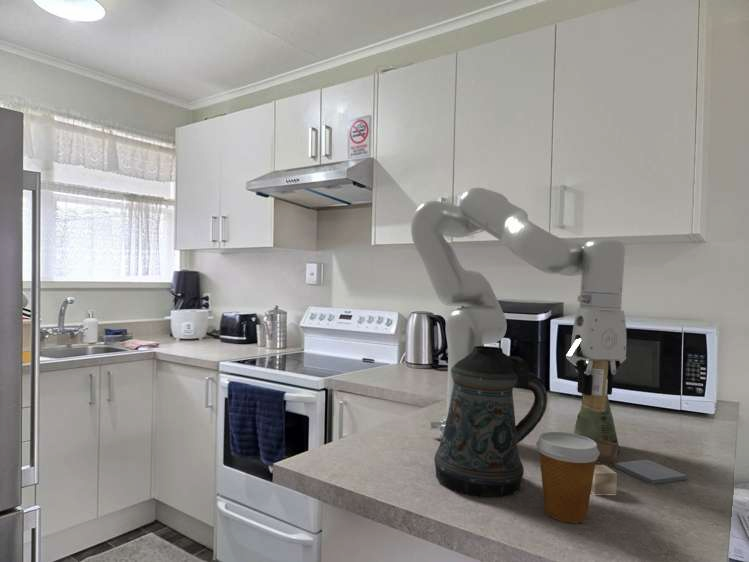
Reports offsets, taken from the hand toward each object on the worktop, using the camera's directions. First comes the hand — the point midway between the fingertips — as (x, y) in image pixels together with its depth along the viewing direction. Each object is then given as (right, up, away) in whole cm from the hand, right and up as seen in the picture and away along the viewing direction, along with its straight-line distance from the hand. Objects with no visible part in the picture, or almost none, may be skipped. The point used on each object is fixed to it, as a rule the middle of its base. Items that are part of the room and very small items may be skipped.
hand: (594, 392), depth 96 cm
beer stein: (-23, -16, -5) cm, 28 cm away
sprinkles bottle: (0, -4, 0) cm, 4 cm away
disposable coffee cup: (-13, -16, -18) cm, 27 cm away
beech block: (-3, -16, -8) cm, 18 cm away
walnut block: (+5, -17, +8) cm, 19 cm away
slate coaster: (+12, -17, +1) cm, 20 cm away
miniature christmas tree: (+7, -17, +17) cm, 25 cm away
